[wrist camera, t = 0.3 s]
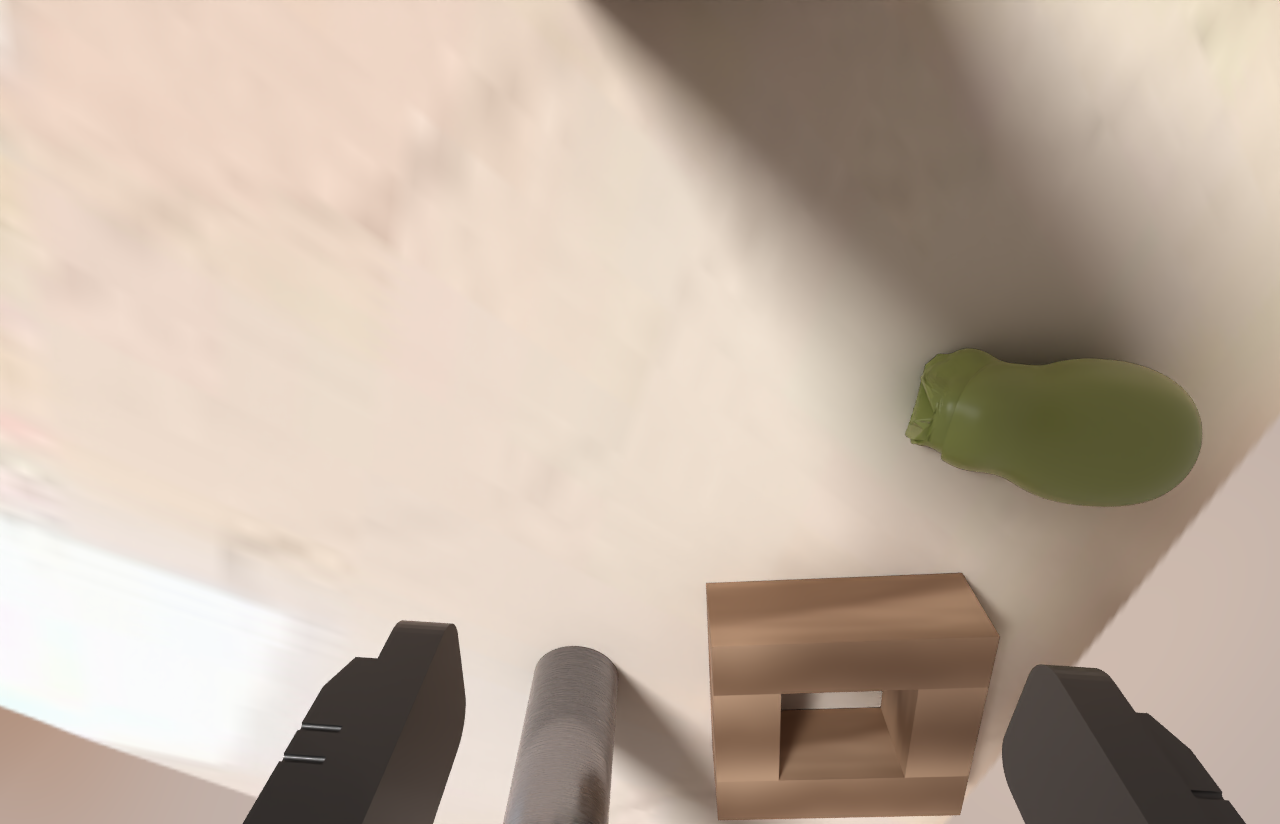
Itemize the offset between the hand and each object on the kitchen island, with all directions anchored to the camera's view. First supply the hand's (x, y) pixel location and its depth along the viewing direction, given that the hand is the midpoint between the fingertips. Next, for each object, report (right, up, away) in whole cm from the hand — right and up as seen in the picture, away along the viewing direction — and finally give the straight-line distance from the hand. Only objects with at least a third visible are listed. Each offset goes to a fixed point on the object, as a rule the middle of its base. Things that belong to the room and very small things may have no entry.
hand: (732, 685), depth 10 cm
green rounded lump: (+14, +5, +19) cm, 24 cm away
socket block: (+8, -9, +25) cm, 28 cm away
